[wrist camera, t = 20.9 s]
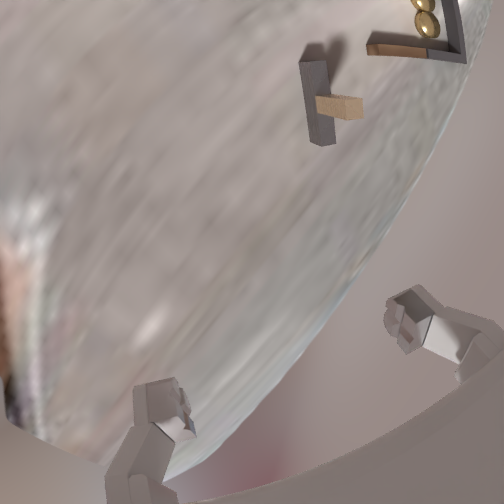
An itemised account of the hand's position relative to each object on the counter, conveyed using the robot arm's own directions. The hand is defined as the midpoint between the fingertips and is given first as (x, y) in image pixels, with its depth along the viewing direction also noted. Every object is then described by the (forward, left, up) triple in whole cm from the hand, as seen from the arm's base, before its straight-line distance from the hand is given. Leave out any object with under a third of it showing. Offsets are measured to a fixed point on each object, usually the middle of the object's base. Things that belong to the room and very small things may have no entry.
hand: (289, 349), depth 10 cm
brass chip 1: (-20, +36, -27) cm, 49 cm away
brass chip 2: (-15, +36, -27) cm, 48 cm away
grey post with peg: (-4, +15, -27) cm, 31 cm away
